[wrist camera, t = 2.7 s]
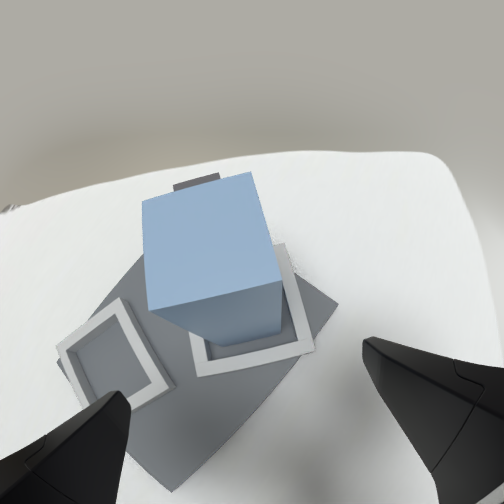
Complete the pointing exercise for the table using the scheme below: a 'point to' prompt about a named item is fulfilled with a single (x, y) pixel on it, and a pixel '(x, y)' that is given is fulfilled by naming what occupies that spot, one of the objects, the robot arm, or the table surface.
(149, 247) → the plug
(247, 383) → the panel
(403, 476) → the table surface
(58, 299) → the table surface
